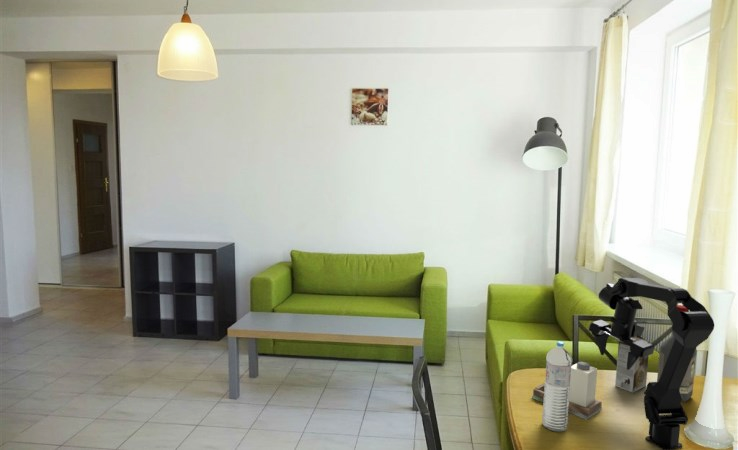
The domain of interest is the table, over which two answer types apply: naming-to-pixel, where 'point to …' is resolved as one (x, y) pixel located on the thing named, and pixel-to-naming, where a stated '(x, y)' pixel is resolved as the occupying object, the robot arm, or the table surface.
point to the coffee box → (633, 376)
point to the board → (571, 404)
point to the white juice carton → (583, 384)
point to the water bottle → (557, 389)
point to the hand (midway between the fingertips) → (615, 361)
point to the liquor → (688, 380)
